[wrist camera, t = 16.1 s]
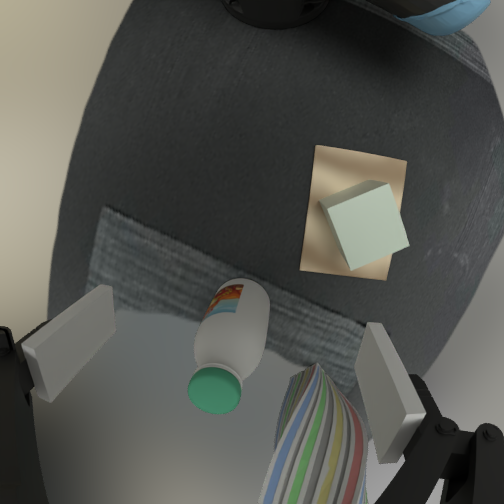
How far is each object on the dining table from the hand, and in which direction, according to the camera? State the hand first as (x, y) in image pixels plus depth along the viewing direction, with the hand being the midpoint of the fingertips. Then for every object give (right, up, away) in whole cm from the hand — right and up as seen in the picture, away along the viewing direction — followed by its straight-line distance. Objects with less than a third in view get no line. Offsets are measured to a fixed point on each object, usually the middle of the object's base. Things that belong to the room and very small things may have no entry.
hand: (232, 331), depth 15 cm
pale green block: (+14, +8, +23) cm, 28 cm away
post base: (+14, +9, +24) cm, 29 cm away
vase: (+10, -16, +31) cm, 37 cm away
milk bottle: (0, -3, +29) cm, 29 cm away
